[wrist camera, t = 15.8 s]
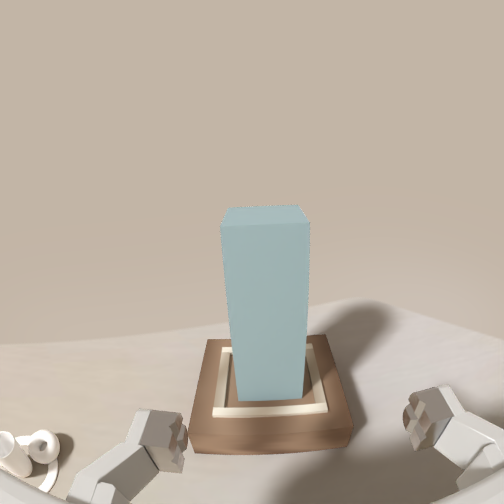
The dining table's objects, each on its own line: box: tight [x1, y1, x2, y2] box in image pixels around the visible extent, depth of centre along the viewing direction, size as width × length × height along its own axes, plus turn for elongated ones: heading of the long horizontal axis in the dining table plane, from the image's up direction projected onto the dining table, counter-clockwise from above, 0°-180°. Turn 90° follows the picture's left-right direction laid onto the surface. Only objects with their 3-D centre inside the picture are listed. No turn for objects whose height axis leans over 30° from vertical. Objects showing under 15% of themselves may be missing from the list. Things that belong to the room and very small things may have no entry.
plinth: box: [188, 334, 354, 455], centre depth 24 cm, size 12×12×3 cm
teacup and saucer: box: [0, 430, 60, 493], centre depth 14 cm, size 9×8×4 cm
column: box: [220, 205, 310, 401], centre depth 22 cm, size 5×5×14 cm
